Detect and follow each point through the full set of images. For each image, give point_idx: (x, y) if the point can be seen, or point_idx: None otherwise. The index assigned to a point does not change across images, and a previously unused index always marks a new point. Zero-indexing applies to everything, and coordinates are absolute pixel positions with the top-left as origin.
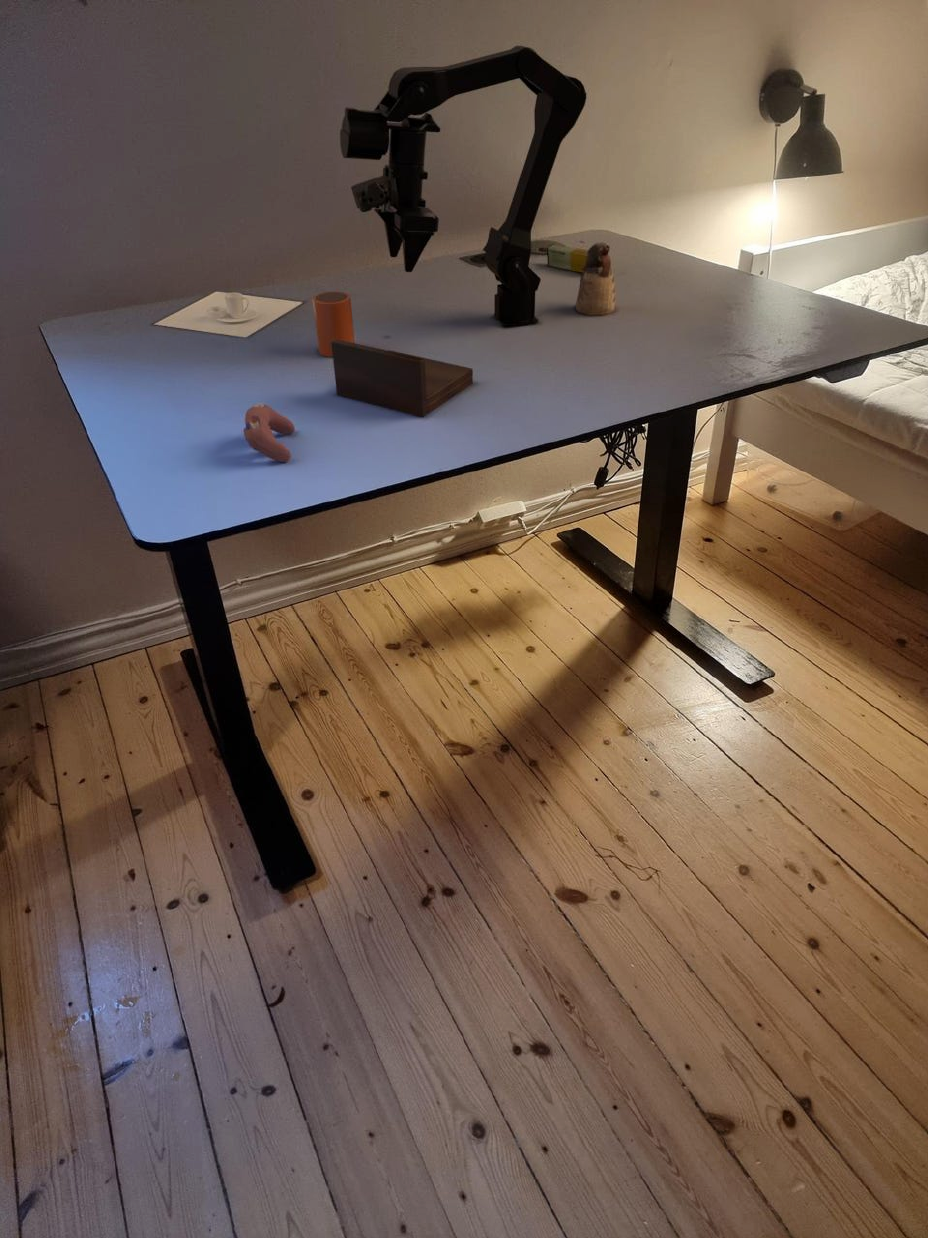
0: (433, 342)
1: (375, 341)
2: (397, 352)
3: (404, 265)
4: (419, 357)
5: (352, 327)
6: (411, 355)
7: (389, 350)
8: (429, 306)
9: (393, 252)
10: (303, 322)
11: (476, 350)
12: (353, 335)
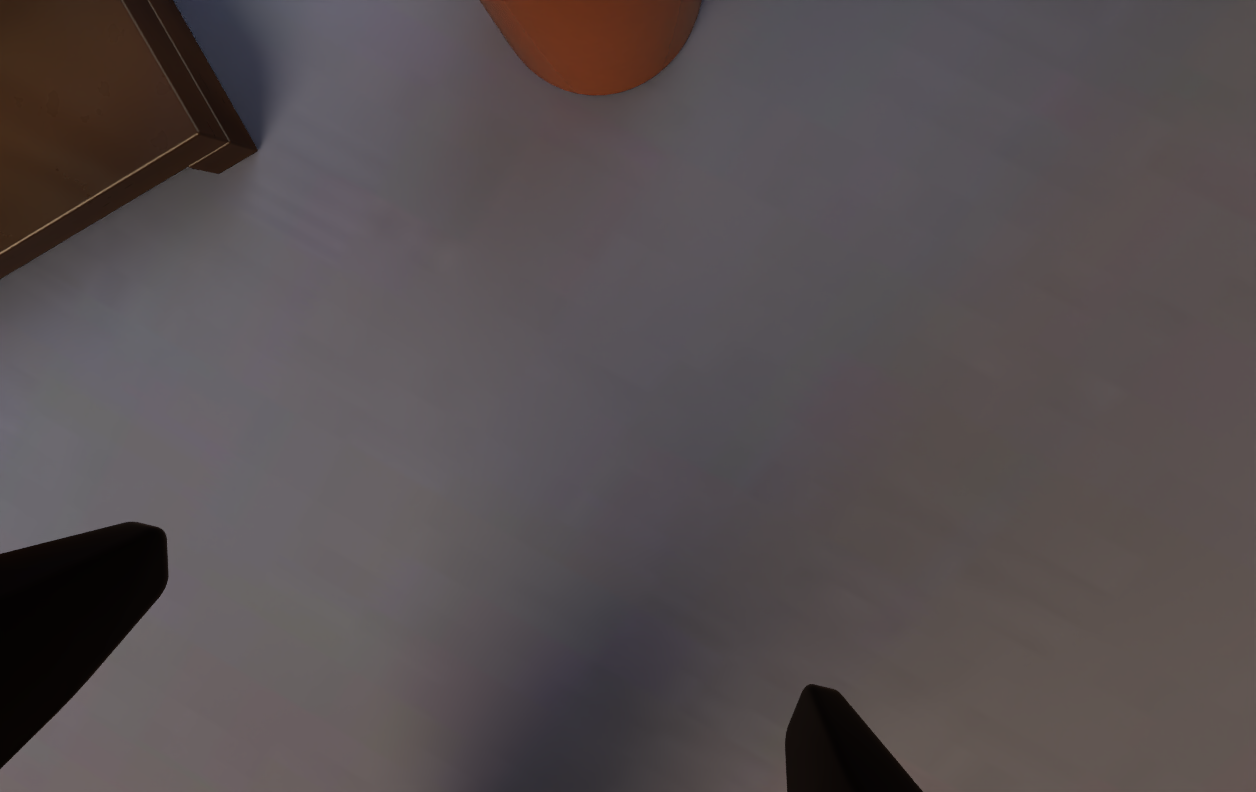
0: (426, 485)
1: (601, 244)
2: (140, 155)
3: (89, 548)
4: (24, 227)
5: (492, 13)
6: (67, 202)
7: (190, 130)
8: (890, 726)
9: (803, 748)
10: (1174, 4)
11: (238, 587)
12: (516, 43)
